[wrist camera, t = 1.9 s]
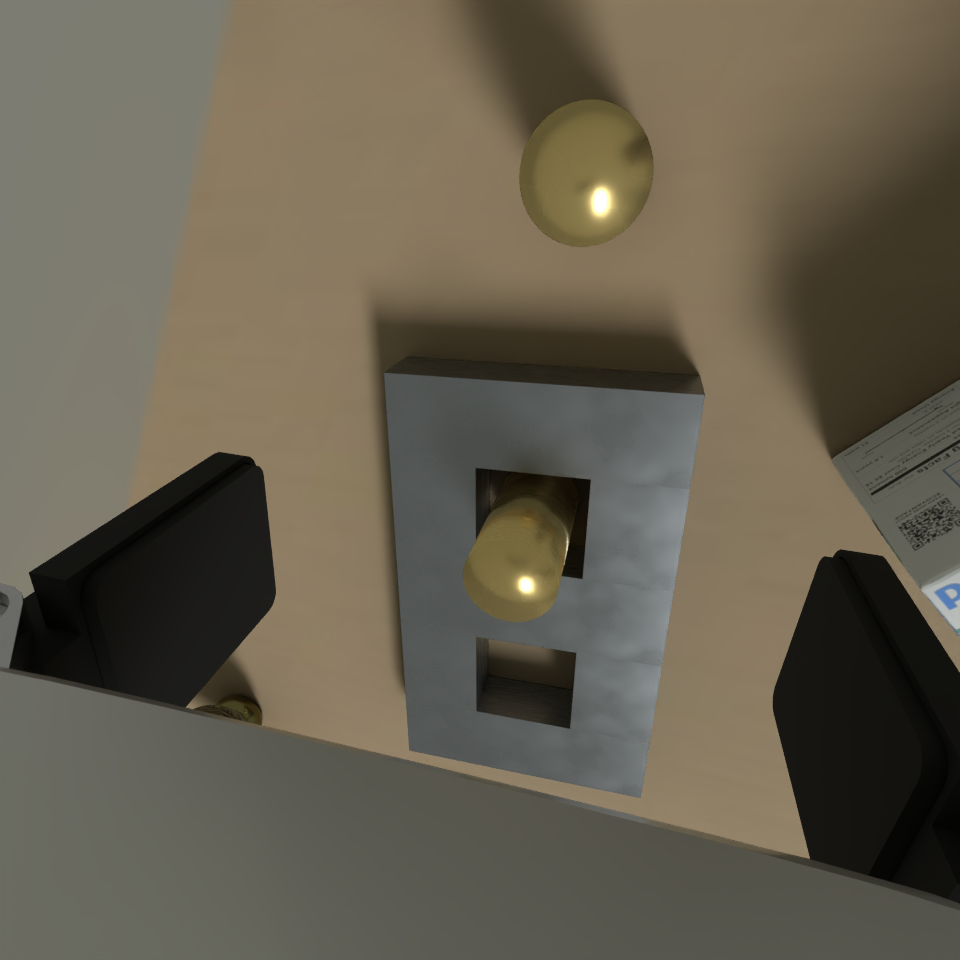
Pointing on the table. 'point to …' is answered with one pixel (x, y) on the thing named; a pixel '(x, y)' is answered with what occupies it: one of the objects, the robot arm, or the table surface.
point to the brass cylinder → (586, 173)
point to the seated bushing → (522, 547)
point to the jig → (587, 570)
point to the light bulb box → (916, 493)
